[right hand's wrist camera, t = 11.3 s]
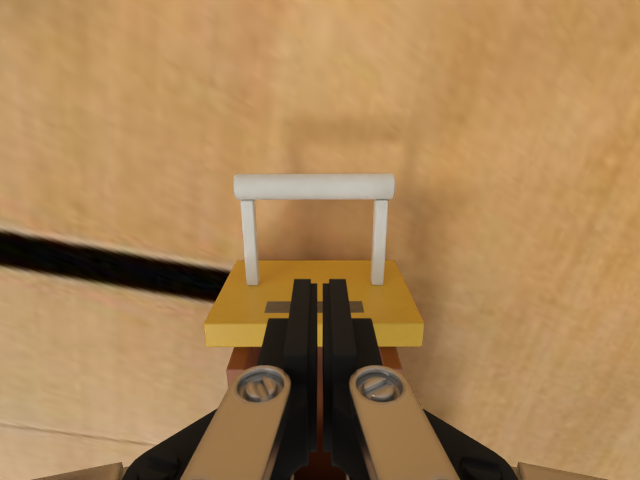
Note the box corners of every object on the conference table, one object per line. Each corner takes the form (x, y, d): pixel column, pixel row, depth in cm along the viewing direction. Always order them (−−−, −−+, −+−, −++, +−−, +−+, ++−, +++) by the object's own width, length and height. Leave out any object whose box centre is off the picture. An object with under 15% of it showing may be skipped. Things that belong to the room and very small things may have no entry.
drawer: (228, 163, 20) (186, 192, 14) (401, 163, 20) (439, 191, 14) (256, 501, 29) (239, 613, 23) (378, 501, 29) (394, 612, 23)
